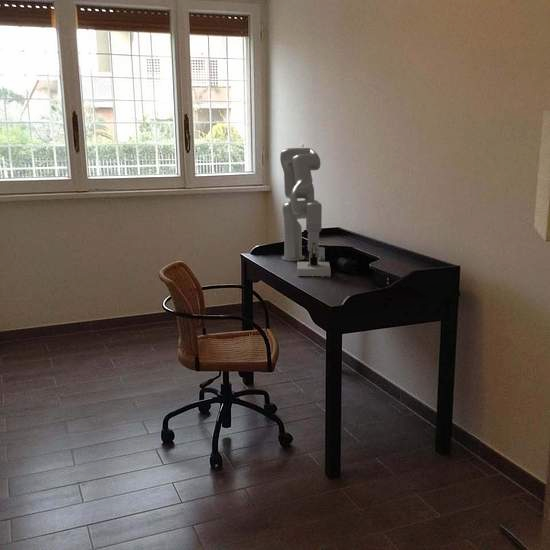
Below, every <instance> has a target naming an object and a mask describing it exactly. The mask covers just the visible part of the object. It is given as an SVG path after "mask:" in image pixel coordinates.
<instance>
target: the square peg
mask: <svg viewBox="0 0 550 550" xmlns="http://www.w3.org/2000/svg"><path fill="white" fill-rule="evenodd" d="M308 253H309V254H308V255H309V256H308V257H309V258H308V260H309V261H308V262H309V267H318V254H317V265H310V259H311V252H308Z"/></svg>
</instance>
